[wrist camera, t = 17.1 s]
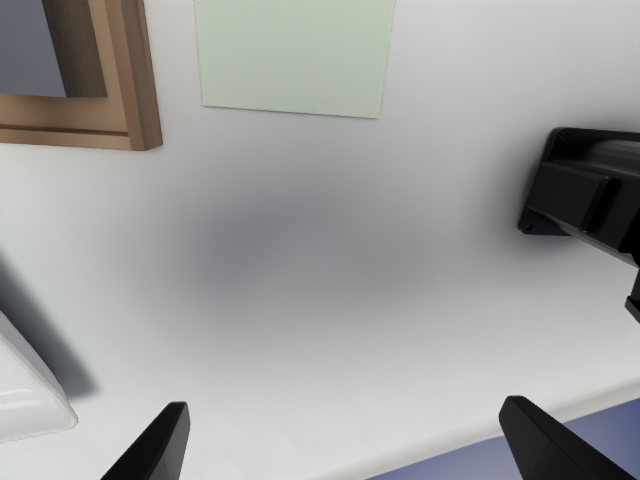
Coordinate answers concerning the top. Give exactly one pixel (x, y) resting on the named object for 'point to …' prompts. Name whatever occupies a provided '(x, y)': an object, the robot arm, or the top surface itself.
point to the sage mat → (294, 54)
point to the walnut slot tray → (97, 112)
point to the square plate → (28, 391)
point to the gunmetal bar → (49, 49)
